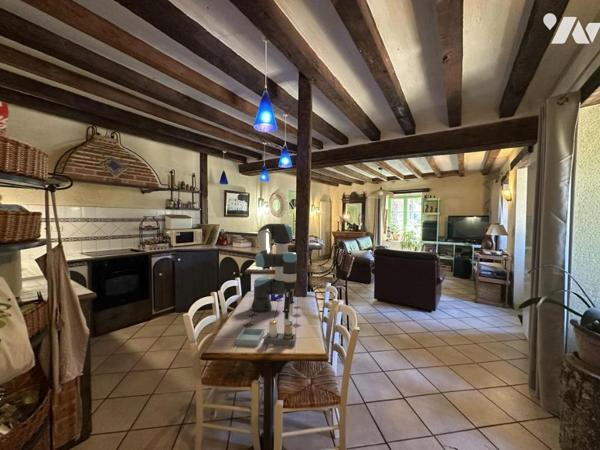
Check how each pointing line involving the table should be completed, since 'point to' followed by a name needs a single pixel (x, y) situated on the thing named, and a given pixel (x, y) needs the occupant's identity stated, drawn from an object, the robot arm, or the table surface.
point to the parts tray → (250, 337)
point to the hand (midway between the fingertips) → (288, 319)
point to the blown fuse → (288, 331)
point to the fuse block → (280, 340)
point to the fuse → (273, 329)
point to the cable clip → (276, 297)
